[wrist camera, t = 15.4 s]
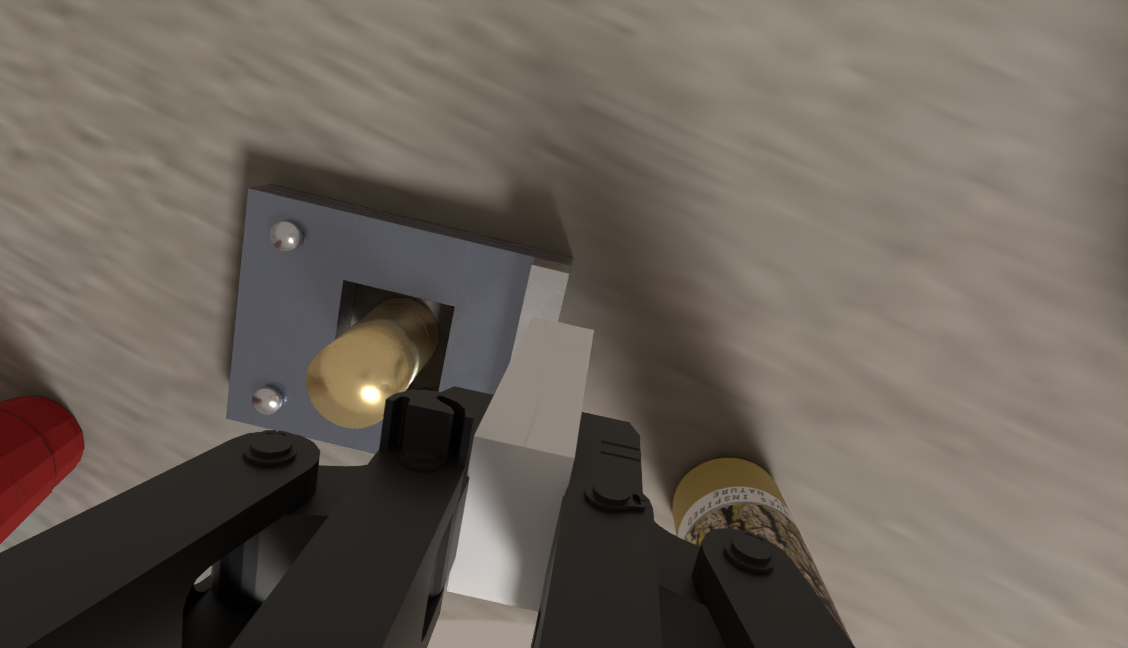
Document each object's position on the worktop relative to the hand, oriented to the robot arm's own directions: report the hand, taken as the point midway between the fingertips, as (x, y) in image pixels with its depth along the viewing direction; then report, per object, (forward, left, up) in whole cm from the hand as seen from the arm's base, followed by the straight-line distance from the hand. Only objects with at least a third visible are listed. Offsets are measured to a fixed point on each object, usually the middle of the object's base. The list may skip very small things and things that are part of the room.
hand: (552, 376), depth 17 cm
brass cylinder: (+9, +9, -24) cm, 27 cm away
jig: (+9, +9, -24) cm, 27 cm away
